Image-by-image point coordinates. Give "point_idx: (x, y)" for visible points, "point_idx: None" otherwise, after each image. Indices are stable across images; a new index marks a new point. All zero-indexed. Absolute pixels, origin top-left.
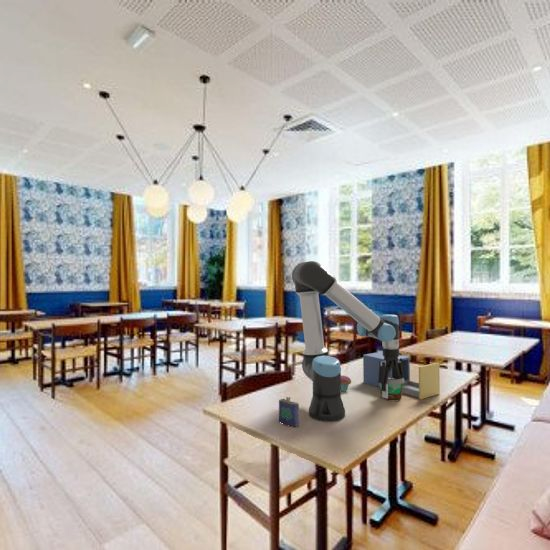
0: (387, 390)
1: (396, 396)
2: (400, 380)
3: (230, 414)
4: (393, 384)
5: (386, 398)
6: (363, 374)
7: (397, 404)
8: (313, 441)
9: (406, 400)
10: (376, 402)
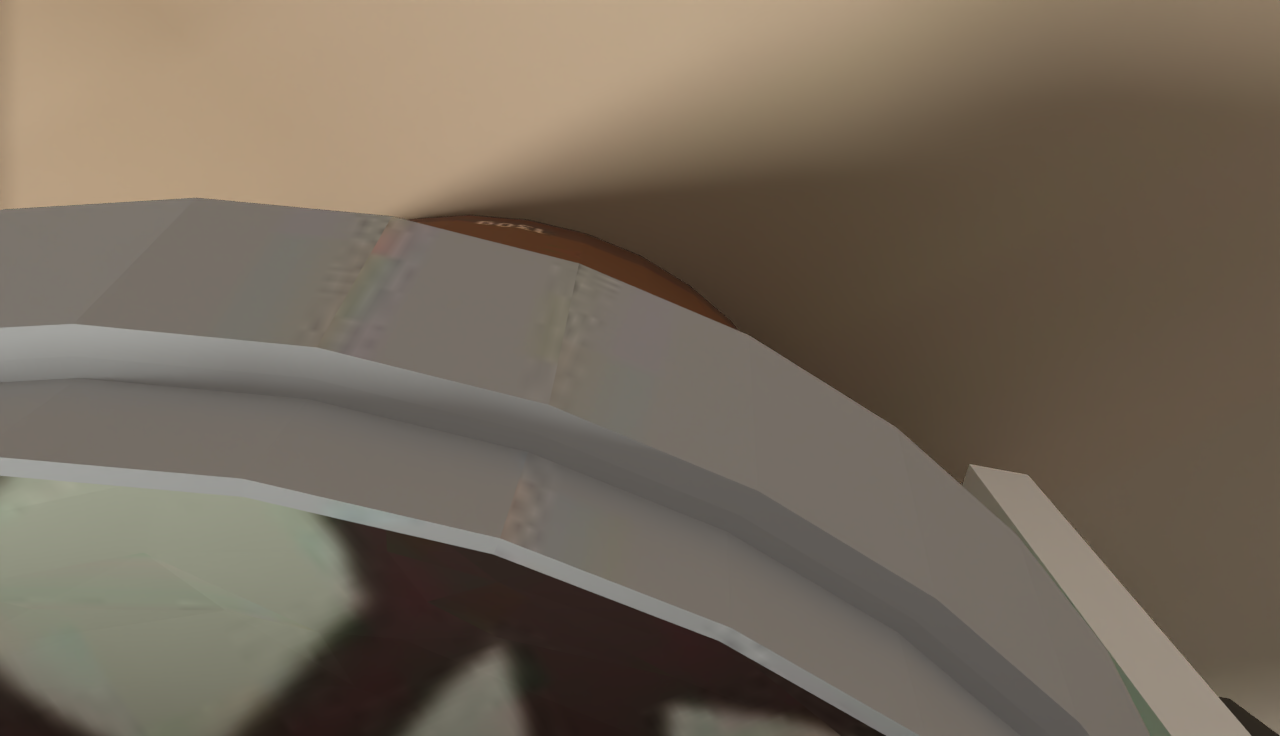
0: (1125, 637)
1: (671, 293)
2: (376, 413)
3: None
4: (1057, 599)
5: (1027, 493)
6: None
7: (1014, 39)
8: None
9: (355, 9)
10: (1237, 629)
